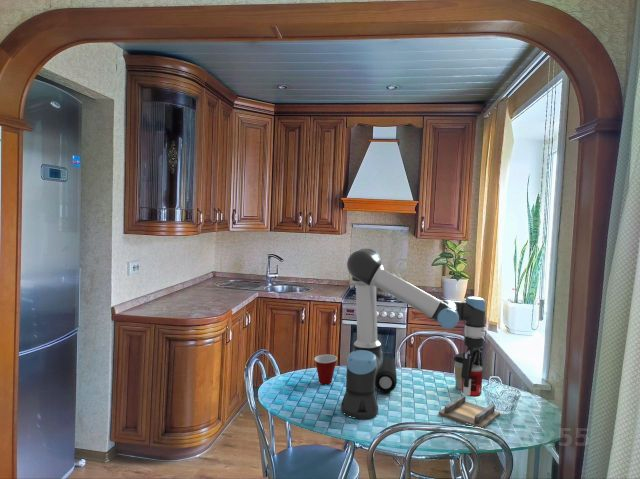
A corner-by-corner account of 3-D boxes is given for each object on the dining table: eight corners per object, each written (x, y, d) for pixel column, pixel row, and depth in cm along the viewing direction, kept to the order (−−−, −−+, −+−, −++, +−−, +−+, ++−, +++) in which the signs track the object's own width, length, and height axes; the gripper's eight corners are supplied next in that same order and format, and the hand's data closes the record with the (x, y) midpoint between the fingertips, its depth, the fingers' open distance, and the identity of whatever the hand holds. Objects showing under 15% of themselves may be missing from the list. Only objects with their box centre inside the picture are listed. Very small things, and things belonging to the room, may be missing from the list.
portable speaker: (374, 373, 234) (375, 354, 234) (395, 375, 233) (396, 355, 232) (373, 393, 209) (374, 371, 208) (396, 395, 208) (397, 373, 207)
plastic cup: (310, 379, 223) (311, 354, 222) (331, 377, 226) (332, 353, 226) (317, 388, 213) (318, 362, 212) (339, 386, 216) (340, 360, 215)
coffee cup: (450, 388, 218) (451, 357, 217) (454, 382, 226) (456, 351, 225) (471, 393, 214) (473, 360, 213) (474, 386, 222) (476, 355, 221)
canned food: (477, 389, 194) (478, 363, 193) (484, 397, 186) (485, 370, 185) (458, 389, 194) (459, 363, 193) (465, 397, 186) (466, 369, 185)
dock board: (481, 429, 178) (482, 420, 178) (438, 414, 190) (438, 405, 190) (500, 415, 191) (500, 406, 191) (458, 401, 203) (458, 393, 203)
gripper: (472, 343, 178) (469, 401, 180) (493, 333, 194) (490, 387, 195) (453, 338, 183) (450, 396, 185) (475, 329, 199) (473, 382, 200)
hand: (471, 391), depth 190 cm, fingers closed on canned food, 8 cm apart
